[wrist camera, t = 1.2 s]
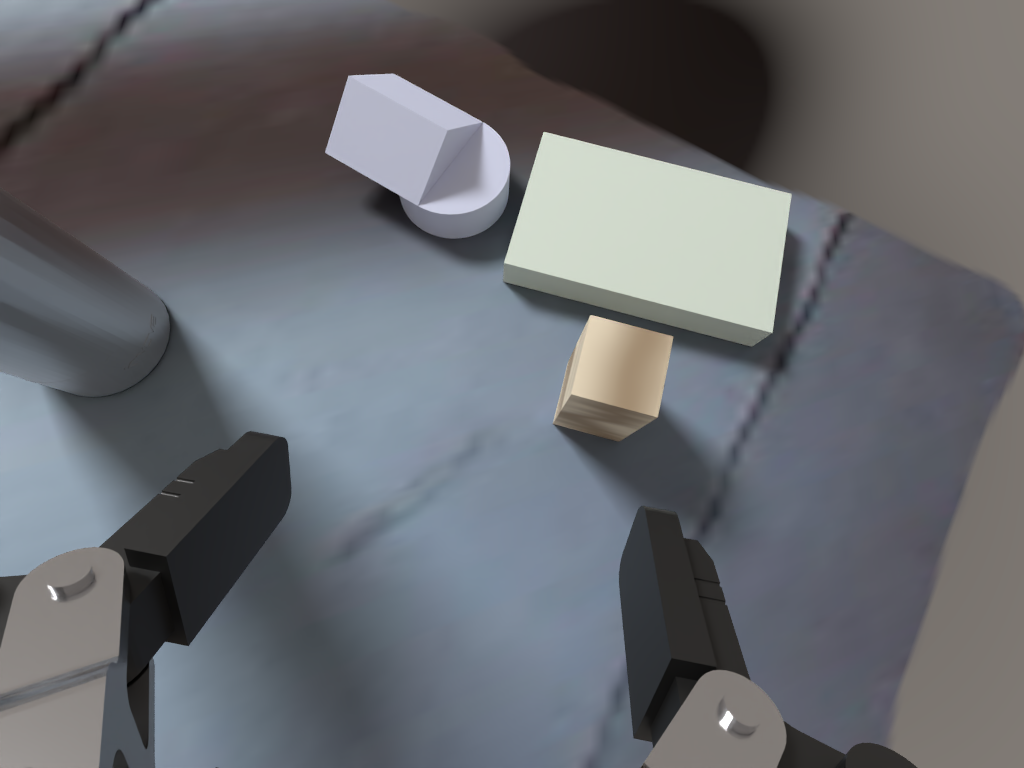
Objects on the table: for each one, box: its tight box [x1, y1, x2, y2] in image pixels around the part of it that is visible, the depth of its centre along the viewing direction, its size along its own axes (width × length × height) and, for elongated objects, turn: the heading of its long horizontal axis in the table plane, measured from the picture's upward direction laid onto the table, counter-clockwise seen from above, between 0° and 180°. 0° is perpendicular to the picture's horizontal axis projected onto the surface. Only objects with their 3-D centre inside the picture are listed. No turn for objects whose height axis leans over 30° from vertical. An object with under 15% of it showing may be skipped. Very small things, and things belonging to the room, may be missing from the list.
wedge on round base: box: [325, 74, 510, 239], centre depth 39 cm, size 9×7×13 cm
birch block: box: [553, 315, 673, 442], centre depth 33 cm, size 5×5×9 cm
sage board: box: [503, 132, 791, 347], centre depth 40 cm, size 20×12×3 cm, turn 75°
